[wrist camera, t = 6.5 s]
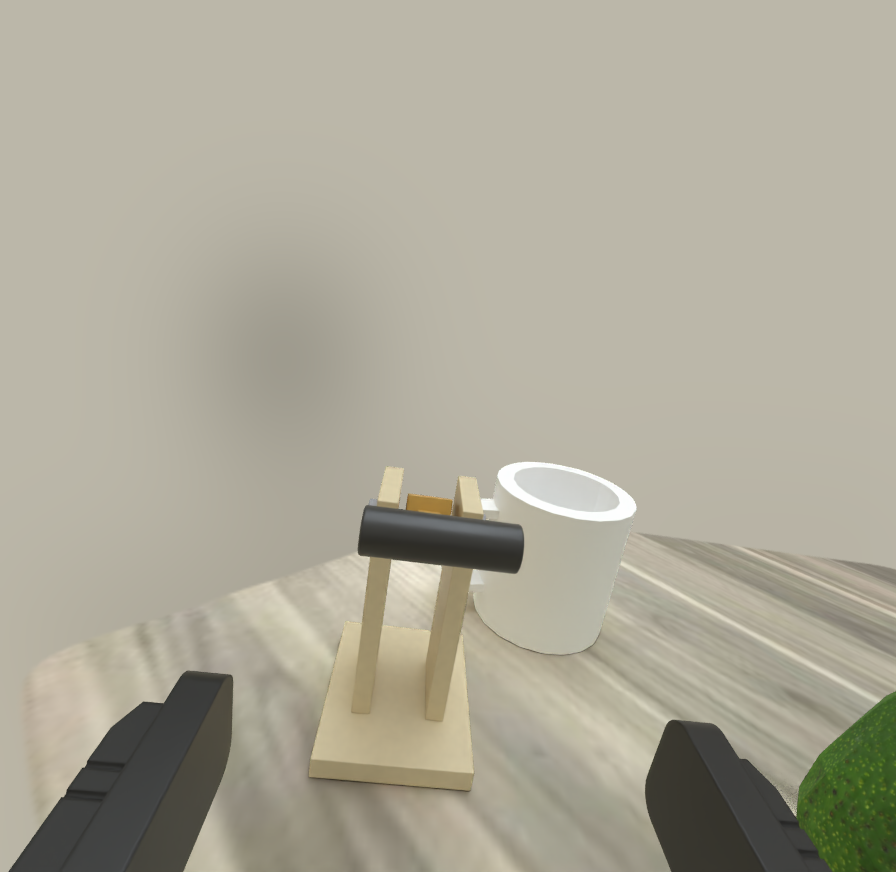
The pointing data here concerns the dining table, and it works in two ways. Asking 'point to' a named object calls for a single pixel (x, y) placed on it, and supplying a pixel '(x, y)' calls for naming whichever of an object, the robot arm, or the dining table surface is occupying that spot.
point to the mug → (554, 556)
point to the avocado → (855, 795)
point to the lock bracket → (401, 681)
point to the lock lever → (440, 537)
